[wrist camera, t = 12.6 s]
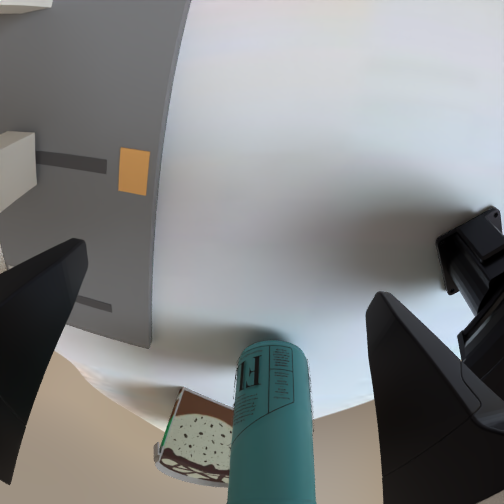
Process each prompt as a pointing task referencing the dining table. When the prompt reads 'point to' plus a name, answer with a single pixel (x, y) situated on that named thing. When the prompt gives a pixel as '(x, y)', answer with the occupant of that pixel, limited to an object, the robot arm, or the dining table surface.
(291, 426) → the beverage bottle
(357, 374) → the dining table surface
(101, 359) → the dining table surface
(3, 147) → the block
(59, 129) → the three pillar stand
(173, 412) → the food container
